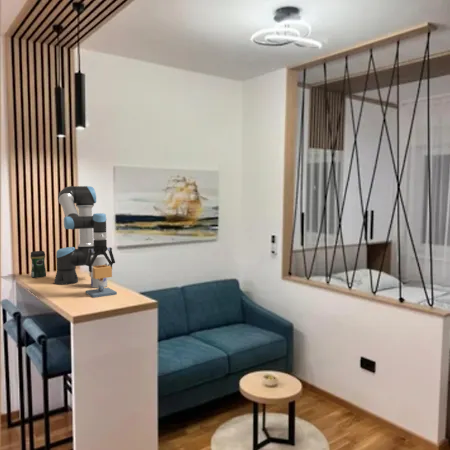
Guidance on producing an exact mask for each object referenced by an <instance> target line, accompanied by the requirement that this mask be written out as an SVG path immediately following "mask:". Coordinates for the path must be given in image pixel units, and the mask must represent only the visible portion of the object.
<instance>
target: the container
mask: <svg viewBox="0 0 450 450" xmlns="http://www.w3.org/2000/svg"><path fill="white" fill-rule="evenodd" d="M92 257H93V256H91V259H92ZM97 265H108V261H107V259H106V258H105V256H104V255H98V256H97V257H96V259H95V261H94V263H93V265H92V266H97ZM103 281H104V288H107V286H108V277H107V278H103ZM90 287H91V288H94V289H98V279H95V278H92V277H90Z"/></svg>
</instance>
